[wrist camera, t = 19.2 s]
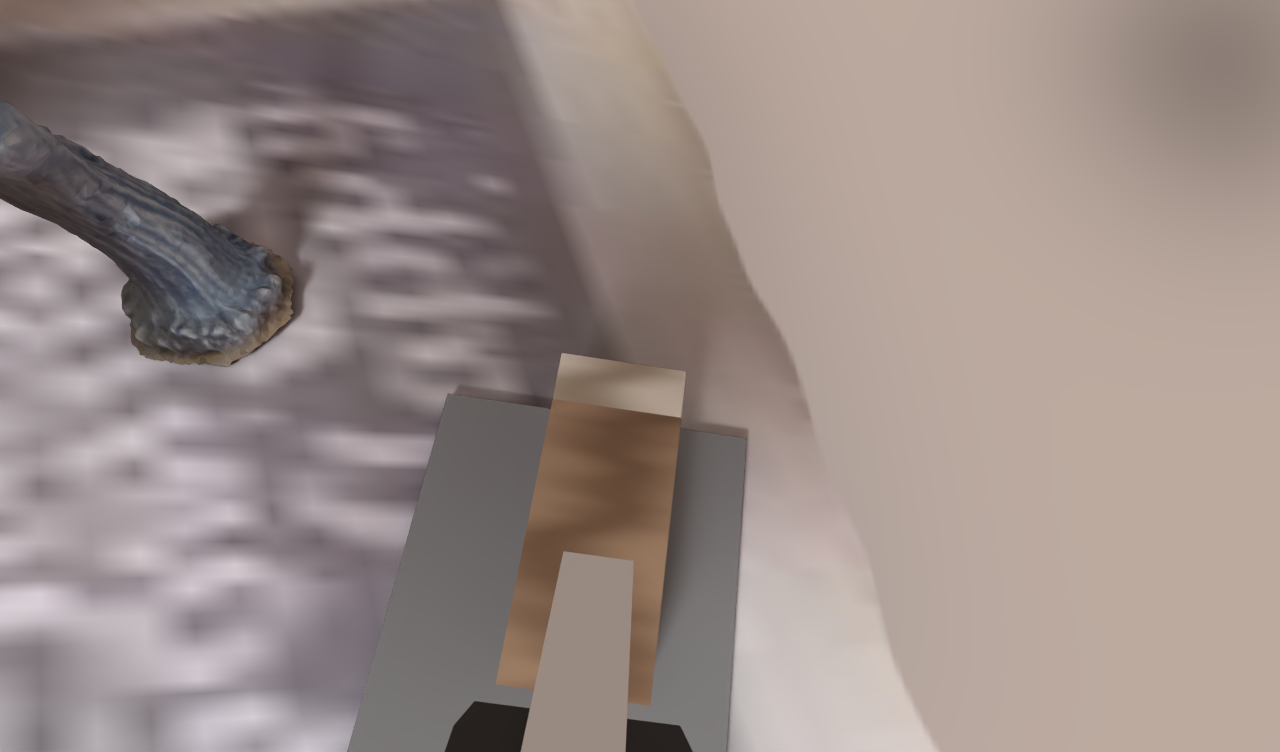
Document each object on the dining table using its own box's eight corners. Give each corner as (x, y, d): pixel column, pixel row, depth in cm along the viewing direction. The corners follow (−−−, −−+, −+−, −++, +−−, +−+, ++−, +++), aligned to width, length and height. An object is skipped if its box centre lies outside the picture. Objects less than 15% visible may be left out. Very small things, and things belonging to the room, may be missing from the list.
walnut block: (495, 684, 21) (561, 352, 26) (511, 683, 25) (565, 401, 30) (650, 706, 21) (686, 371, 26) (638, 701, 25) (671, 416, 31)
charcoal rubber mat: (321, 861, 23) (314, 866, 23) (450, 398, 31) (448, 393, 30) (712, 916, 23) (715, 922, 23) (743, 442, 31) (746, 438, 30)
